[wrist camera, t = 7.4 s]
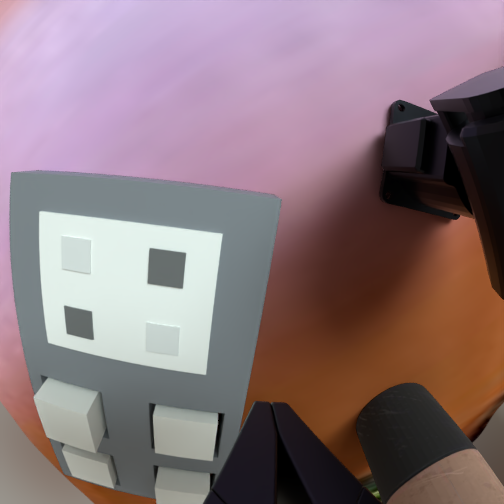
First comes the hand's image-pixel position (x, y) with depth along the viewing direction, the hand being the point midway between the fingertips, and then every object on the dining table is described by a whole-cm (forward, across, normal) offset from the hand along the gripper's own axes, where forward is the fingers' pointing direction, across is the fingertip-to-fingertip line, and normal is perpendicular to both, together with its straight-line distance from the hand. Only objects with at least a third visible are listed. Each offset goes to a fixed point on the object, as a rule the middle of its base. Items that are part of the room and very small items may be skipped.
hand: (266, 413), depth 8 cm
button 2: (+11, +11, +18) cm, 24 cm away
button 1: (+10, +11, +11) cm, 18 cm away
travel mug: (+12, -14, +12) cm, 22 cm away
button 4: (+10, +3, +18) cm, 21 cm away
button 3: (+11, +3, +11) cm, 16 cm away
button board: (+12, +7, +8) cm, 16 cm away
